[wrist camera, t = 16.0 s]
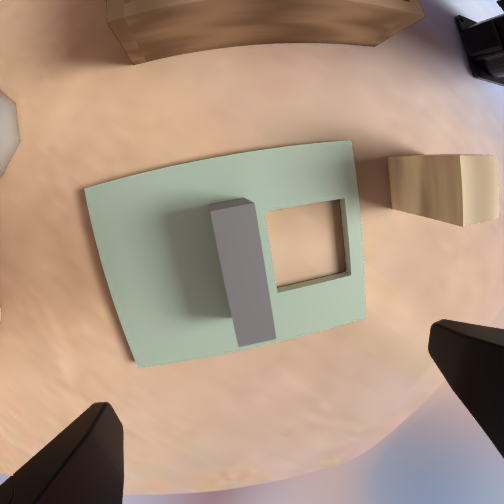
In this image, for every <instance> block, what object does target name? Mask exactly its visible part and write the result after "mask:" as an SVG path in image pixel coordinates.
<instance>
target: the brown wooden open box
mask: <svg viewBox="0 0 504 504" xmlns="http://www.w3.org/2000/svg"><path fill="white" fill-rule="evenodd" d="M424 17H425V15H424V12H423V10H422V7H421V4H420V2H419V0H107V24H108V25H109V27H110V28H111V30H112V31H113V33H114V35H115V36H116V38H117V39H118V41H119V42H120V44H121V46H122V47H123V49H124V50H125V52H126V54H127V55H128V57H129V58H130V60H131V61H132V63H133V65H136V64H140V63H143V62H148V61H152V60H156V59H160V58H165V57H170V56H175V55H180V54H185V53H191V52H197V51H203V50H210V49H217V48H225V47H234V46H244V45H256V44H272V43H335V44H351V45H363V46H373V47H375V46H377V45H378V44H380V43H381V42H383V41H385V40H386V39H388V38H389V37H391V36H393V35H394V34H396V33H398V32H399V31H401V30H403V29H404V28H406V27H408V26H410V25H411V24H413V23H415V22H417V21H418V20H420V19H422V18H424Z"/></svg>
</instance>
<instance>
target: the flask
mask: <svg viewBox="0 0 504 504" xmlns="http://www.w3.org/2000/svg"><path fill="white" fill-rule="evenodd" d="M19 143H20V136H19V128H18V120H17V111H16V103H15V102H14V101H12V100H11V99H10V98H9V97H8V96H7V95H5V94H4V93H3V92H2V91H1V90H0V179H1V178H2V176H3V173H4V171H5V169H6V167H7V165H8V163H9V161H10V159H11V157H12V156H13V154H14V152H15V150H16V148H17V146H18V144H19Z"/></svg>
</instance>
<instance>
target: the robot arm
mask: <svg viewBox="0 0 504 504" xmlns="http://www.w3.org/2000/svg"><path fill="white" fill-rule="evenodd" d="M496 2H497V3H498V5H499V6H500V7H501V8H502V10H503V11H504V0H498V1H496ZM455 19H456V22H457V25H458V28H459V30H460V33H461V36H462V39H463V42H464V45H465V49H466V52H467V55H468V59H469V62H470V66H471V69H472V73H473V75H474V77H475V78H478V79H481V80H485V81H489V82H492V83H495V84H499V85H502V86H504V14H501V15H498V16H495V17H492V18H490V19H487V20H484V21H481V22H479V23H477V22H475V21H472V20H470V19H468V18H465V17H463V16H460V15H458V16H456V17H455ZM428 351H429V354H430V356H431V357H432V359H433V360H434V362H435V363H436V365H437V366H438V368H439V369H440V371H441V373H442V374H443V376H444V377H445V379H446V380H447V382H448V383H449V385H450V386H451V388H452V390H453V391H454V392H455V394H456V395H457V396H458V398H459V399H460V400H461V401H462V403H463V404H464V405H465V407H466V408H467V409H468V410H469V412H470V413H471V414H472V416H473V417H474V418H475V420H476V421H477V422H478V424H479V425H480V426H481V427H482V429H483V430H484V432H485V433H486V434H487V436H488V437H489V438H490V440H491V441H492V443H493V444H494V445H495V447H496V448H497V450H498V451H499V452H500V454H501V455H502V457H503V458H504V329H499V328H493V327H487V326H481V325H475V324H469V323H463V322H458V321H452V320H446V319H442V320H439V321H437V322H435V323H433V324H432V326H431V329H430V336H429V344H428ZM123 485H124V453H123V426H122V423H121V422H120V420H119V418H118V416H117V415H116V413H115V411H114V409H113V408H112V406H111V405H110V404H109V403H108V402H97V403H94V404H92V405H91V406H90V407H89V408H88V409H87V410H86V411H85V412H83V413H82V414H81V415H80V416H79V417H78V418H77V419H75V420H74V421H73V422H72V423H71V424H70V425H69V426H68V427H66V428H65V429H64V430H63V431H62V432H61V433H60V434H58V435H57V436H56V437H55V438H54V439H53V440H52V441H51V442H49V443H48V444H47V445H46V446H45V447H44V448H43V449H41V450H40V451H39V452H38V453H37V454H36V455H35V456H33V457H32V458H31V459H30V460H29V461H28V462H27V463H25V464H24V465H23V466H22V467H21V468H20V469H19V470H17V471H16V472H15V473H14V474H13V476H10V477H9V478H8V479H7V480H6V481H5V482H4V483H3V484H1V485H0V504H122V498H123Z"/></svg>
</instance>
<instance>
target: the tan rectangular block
mask: <svg viewBox="0 0 504 504" xmlns="http://www.w3.org/2000/svg"><path fill="white" fill-rule="evenodd" d="M387 163H388V172H389V181H390V192H391V204H392V209H394V210H399V211H403V212H407V213H411V214H415V215H420V216H424V217H428V218H432V219H435V220H439V221H443V222H447V223H451V224H454V225H458V226H462V227H465V226H469V225H473V224H477V223H481V222H485V221H489V220H493V219H497V218H499V183H498V166H497V155H461V154H442V155H409V156H393V157H387Z"/></svg>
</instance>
